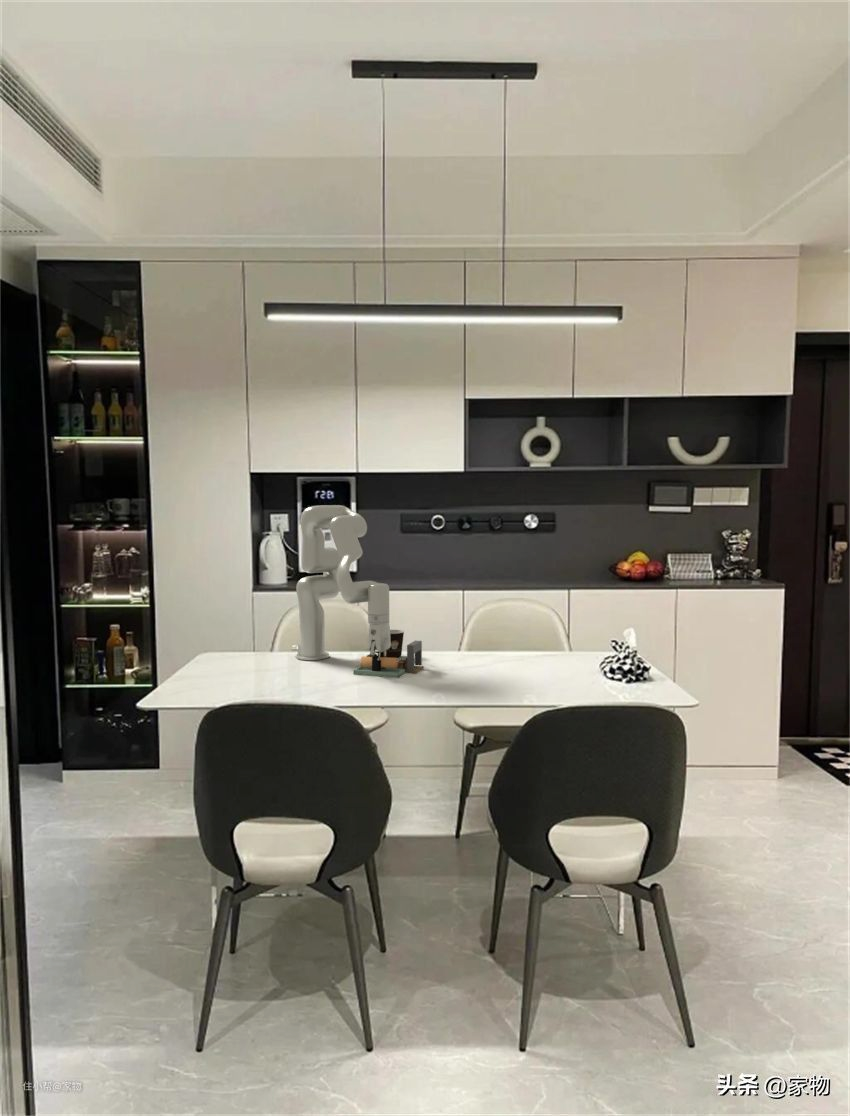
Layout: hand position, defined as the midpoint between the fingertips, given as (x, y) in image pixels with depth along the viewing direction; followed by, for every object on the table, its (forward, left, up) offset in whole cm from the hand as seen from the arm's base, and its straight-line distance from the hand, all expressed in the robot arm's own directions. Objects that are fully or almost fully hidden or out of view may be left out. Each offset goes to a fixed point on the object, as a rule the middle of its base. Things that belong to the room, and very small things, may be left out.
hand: (379, 669), depth 276 cm
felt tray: (0, 0, -2) cm, 2 cm away
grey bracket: (+10, +8, 0) cm, 13 cm away
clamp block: (+1, +8, -2) cm, 8 cm away
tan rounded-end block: (0, 0, +1) cm, 1 cm away
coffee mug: (-7, +27, -2) cm, 28 cm away
